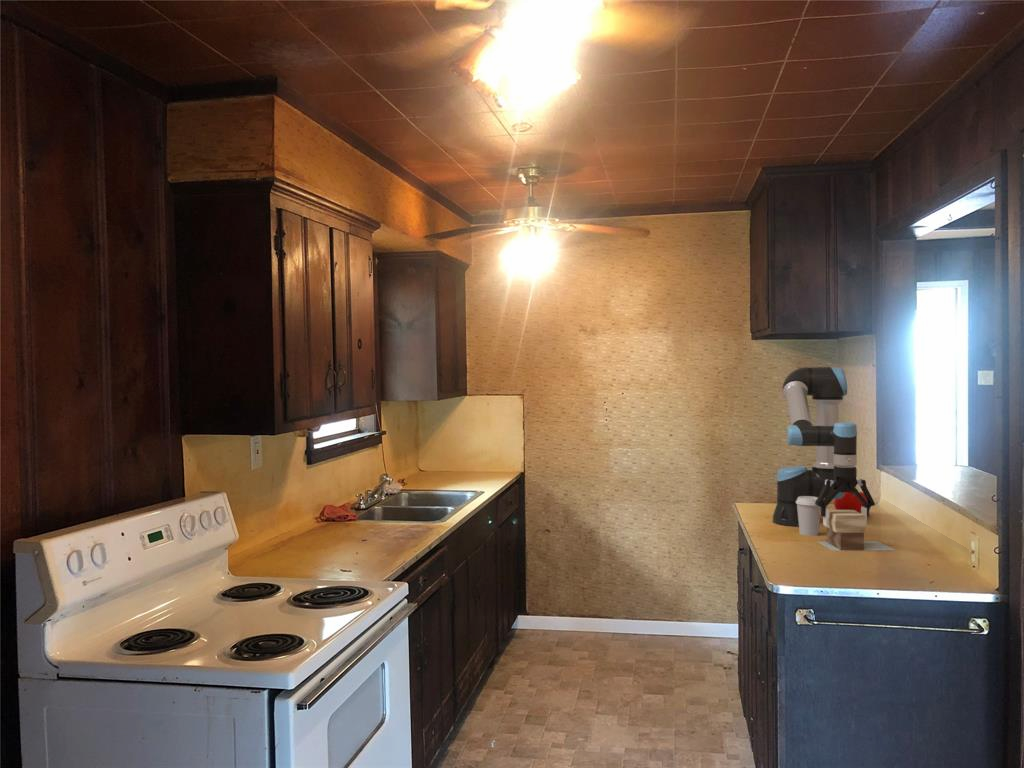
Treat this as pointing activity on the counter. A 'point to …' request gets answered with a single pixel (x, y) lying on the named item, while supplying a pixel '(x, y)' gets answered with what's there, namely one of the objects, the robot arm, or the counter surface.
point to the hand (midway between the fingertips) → (844, 525)
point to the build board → (867, 546)
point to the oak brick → (846, 521)
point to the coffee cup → (808, 515)
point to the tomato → (849, 502)
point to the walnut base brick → (846, 540)
